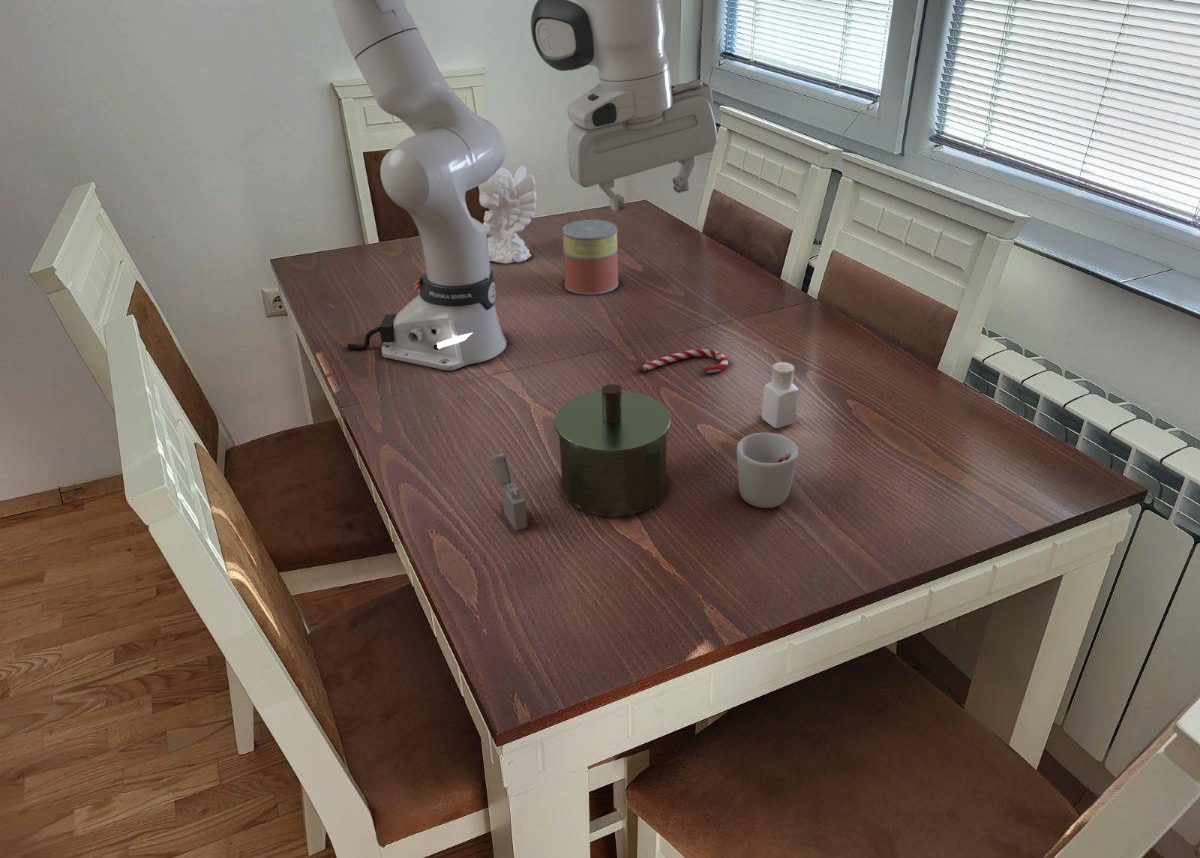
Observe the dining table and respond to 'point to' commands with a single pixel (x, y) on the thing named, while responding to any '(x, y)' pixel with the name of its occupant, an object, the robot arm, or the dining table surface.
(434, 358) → the robot arm
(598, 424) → the tin lid
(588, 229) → the canned food
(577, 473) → the tin
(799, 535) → the dining table surface
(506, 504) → the lighter
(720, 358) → the candy cane
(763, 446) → the cup
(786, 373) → the pepper shaker
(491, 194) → the cherub figurine
